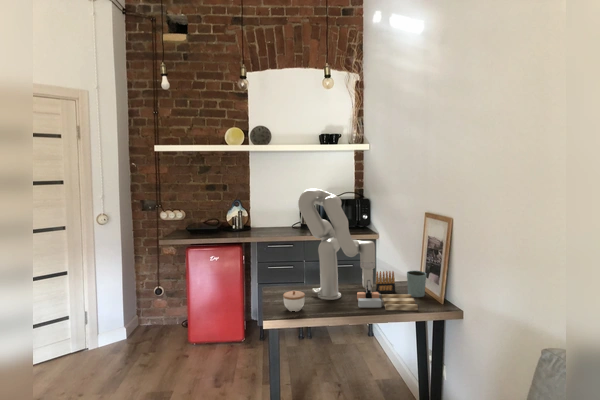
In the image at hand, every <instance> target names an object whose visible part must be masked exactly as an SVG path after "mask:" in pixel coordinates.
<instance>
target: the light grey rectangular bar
mask: <svg viewBox="0 0 600 400" xmlns="http://www.w3.org/2000/svg"><path fill="white" fill-rule="evenodd" d="M357 301H358V302H357V304H358V308H382V307H384V301H383V300H382V298H381V299H380V298H358V300H357Z"/></svg>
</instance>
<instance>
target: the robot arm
mask: <svg viewBox="0 0 600 400" xmlns="http://www.w3.org/2000/svg"><path fill="white" fill-rule="evenodd" d="M342 203H343V202H342V200H341V198H340V197H339V196H338V195H335V194H333V193H330V192H328V191H326V190H322V189H320V188H316V187H315V188H314V187H313V188H308V189H305V190H304V191H303V192H302V193H301V194H300V196H299V198H298V203H297V205H298V206H297V207H298V210H299V212H300V213H301V216H302V218H303V220H304V222H305V224H306V225H307V227H308V229H309V231H310V233H311V235H312V237H313V238H315V239H320V240H321V241H320V243H319V245H318V249H317V253H318V259H319V276H320V277H319V278H320V279H319V280H320V282H319V283H320V287H318V288H312V289H311V290H312V293H314V294H317V298H319V299H321V300H327V301H331V300H332V301H333V300H338V299H340V298H341V297H342V293H341V292H339V279H338V278H339V273H338V272H339V270H338V257H337V252H339V250H340V249H341V251H342V252H343V253H344V255H345V256H346V257H350V258H353V257H356V255H358V254H359V256H360V257H359V258H360V261H359V262H360V265H359V266H360V269H362V270H361V271H362V272H361V274H362V277H361V278H362V279H361V281H362V282H361V283H362V287H363V288H364V289H365V290H364V292H366V298H372V293H371V292H372V288H373V287H374V269H375V268H376V251H375V250H376V248H375V247H376V245H375V242H374V241H372V240H360V239H359V240H357V239H353V237H352V235H351V233H350V229H349V219H348V217H347V215H346V214H345V211H344V210H343V208H342ZM315 204H316V205H318V206H321V207H323V210H324V211H325V213H326V216H327V217H328V219H329V220H330V221H328V220H326V219H323V218H322V217H321V215H320V214H319V212H318V210H317V208H316V207H315Z"/></svg>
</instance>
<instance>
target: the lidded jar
mask: <svg viewBox="0 0 600 400" xmlns="http://www.w3.org/2000/svg"><path fill="white" fill-rule="evenodd" d="M305 296H306V294H305V292H303V291H300V290H290V291H286V292H284V293H283V295H282V297H283V304H284V307H285V308H286V309H287V310H288V311H289V312H292V311H295V312H300V311H301V309H302V308H303V307H304V305H305V300H306V299H305Z"/></svg>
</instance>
